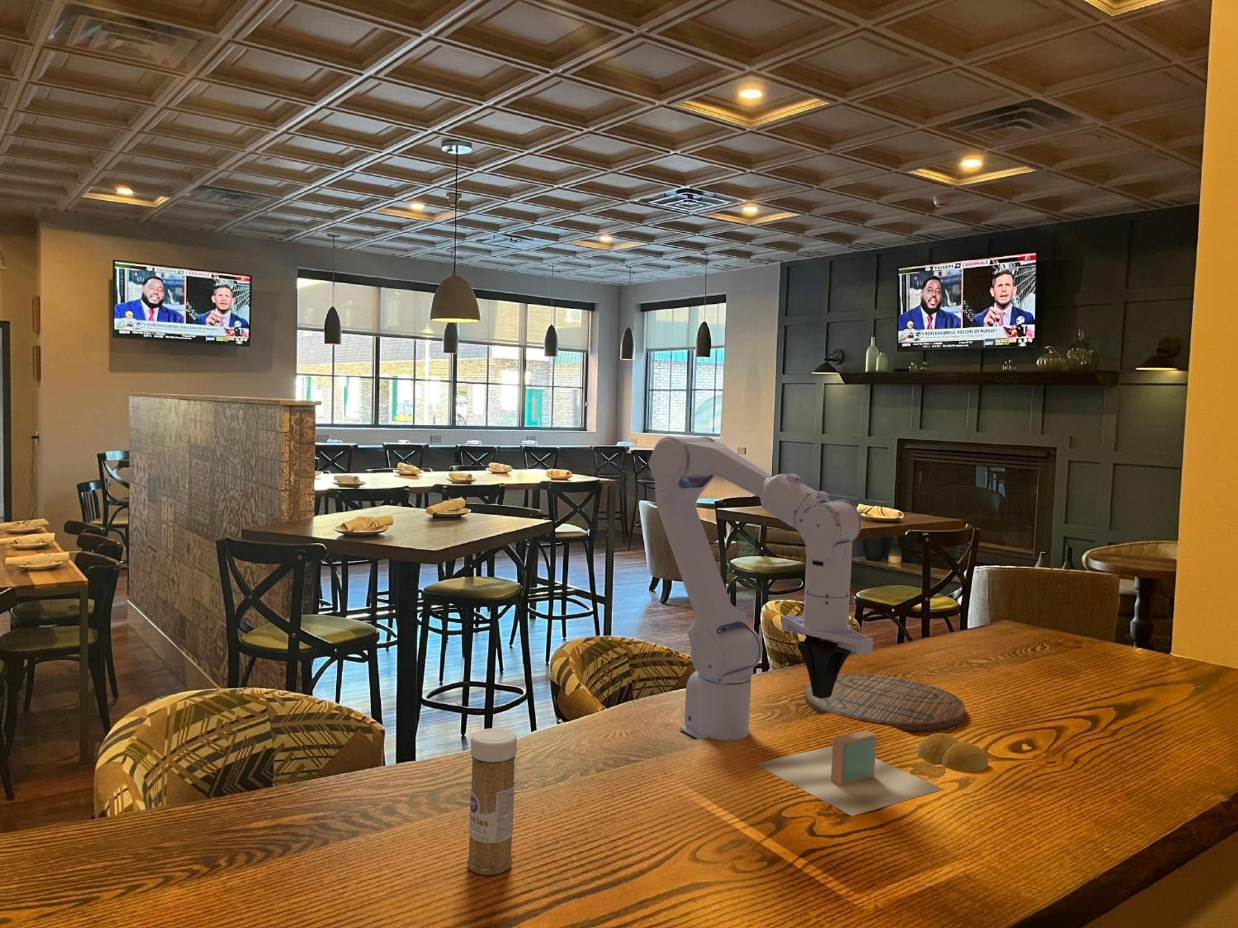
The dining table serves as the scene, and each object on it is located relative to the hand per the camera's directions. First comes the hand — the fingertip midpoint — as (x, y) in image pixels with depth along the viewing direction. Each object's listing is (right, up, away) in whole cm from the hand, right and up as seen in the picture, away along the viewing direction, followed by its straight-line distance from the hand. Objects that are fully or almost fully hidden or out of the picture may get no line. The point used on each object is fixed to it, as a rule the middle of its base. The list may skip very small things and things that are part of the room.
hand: (822, 696), depth 118 cm
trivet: (+16, -10, +29) cm, 34 cm away
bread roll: (+18, -11, +4) cm, 22 cm away
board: (+2, -10, -4) cm, 11 cm away
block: (+3, -9, -5) cm, 11 cm away
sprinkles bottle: (-40, -10, -27) cm, 49 cm away
